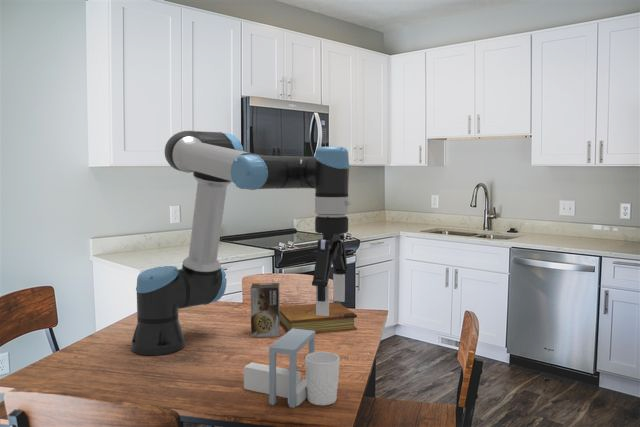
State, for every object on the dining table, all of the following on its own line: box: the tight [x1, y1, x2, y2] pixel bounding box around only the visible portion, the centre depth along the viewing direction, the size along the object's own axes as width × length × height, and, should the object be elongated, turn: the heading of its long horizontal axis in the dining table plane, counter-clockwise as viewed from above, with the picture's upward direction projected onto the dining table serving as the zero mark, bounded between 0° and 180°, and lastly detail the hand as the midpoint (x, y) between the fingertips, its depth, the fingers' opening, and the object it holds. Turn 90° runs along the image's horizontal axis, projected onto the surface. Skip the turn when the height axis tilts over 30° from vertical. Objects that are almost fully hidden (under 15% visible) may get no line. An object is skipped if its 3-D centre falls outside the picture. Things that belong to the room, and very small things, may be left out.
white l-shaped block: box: [243, 361, 308, 407], centre depth 127 cm, size 16×9×6 cm, turn 65°
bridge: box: [268, 328, 316, 409], centre depth 126 cm, size 6×15×13 cm, turn 163°
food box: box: [249, 282, 281, 338], centre depth 171 cm, size 9×6×16 cm
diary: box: [280, 301, 358, 335], centre depth 183 cm, size 23×19×6 cm
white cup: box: [305, 351, 341, 406], centre depth 123 cm, size 8×8×10 cm
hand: (331, 308), depth 122 cm, fingers open, 13 cm apart
